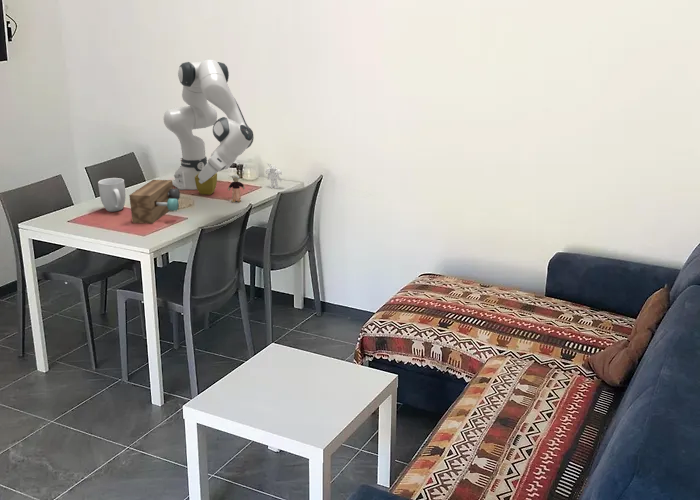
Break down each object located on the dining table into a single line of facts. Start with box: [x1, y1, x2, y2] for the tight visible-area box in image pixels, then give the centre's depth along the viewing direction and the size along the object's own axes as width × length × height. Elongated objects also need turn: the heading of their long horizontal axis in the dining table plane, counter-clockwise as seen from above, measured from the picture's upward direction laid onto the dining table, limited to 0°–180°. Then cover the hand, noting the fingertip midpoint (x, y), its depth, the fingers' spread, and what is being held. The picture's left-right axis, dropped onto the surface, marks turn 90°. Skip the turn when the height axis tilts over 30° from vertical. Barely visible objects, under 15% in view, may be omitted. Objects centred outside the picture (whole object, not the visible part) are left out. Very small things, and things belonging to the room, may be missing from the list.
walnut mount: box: [129, 179, 174, 224], centre depth 327 cm, size 9×25×12 cm, turn 171°
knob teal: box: [156, 198, 179, 211], centre depth 318 cm, size 8×5×5 cm, turn 81°
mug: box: [97, 177, 126, 212], centre depth 332 cm, size 15×11×13 cm
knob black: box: [168, 188, 181, 201], centre depth 333 cm, size 8×5×5 cm, turn 81°
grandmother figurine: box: [227, 173, 246, 203], centre depth 344 cm, size 8×4×13 cm, turn 112°
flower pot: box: [195, 172, 218, 196], centre depth 357 cm, size 9×9×9 cm
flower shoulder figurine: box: [264, 163, 283, 189], centre depth 365 cm, size 9×4×12 cm, turn 61°
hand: (200, 181), depth 312 cm, fingers closed
